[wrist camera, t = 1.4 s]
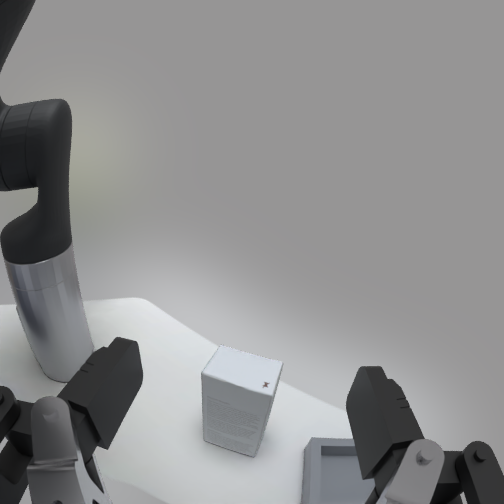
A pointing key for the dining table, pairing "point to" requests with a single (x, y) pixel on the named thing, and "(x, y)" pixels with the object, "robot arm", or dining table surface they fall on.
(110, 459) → the dining table surface
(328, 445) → the gray tray
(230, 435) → the skincare box
